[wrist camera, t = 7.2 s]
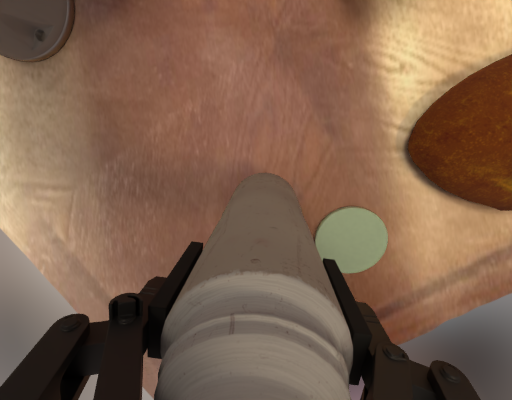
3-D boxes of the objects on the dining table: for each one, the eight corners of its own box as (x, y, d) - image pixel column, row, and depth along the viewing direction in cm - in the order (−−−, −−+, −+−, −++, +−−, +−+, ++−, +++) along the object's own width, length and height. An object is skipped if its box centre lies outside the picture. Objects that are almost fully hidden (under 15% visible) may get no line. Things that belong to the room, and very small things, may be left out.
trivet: (321, 201, 40) (322, 203, 39) (393, 210, 40) (395, 212, 39) (309, 266, 43) (309, 268, 42) (376, 274, 43) (378, 277, 42)
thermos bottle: (238, 239, 34) (115, 691, 7) (226, 178, 32) (-25, 475, 5) (300, 230, 33) (446, 697, 6) (292, 167, 31) (454, 444, 4)
